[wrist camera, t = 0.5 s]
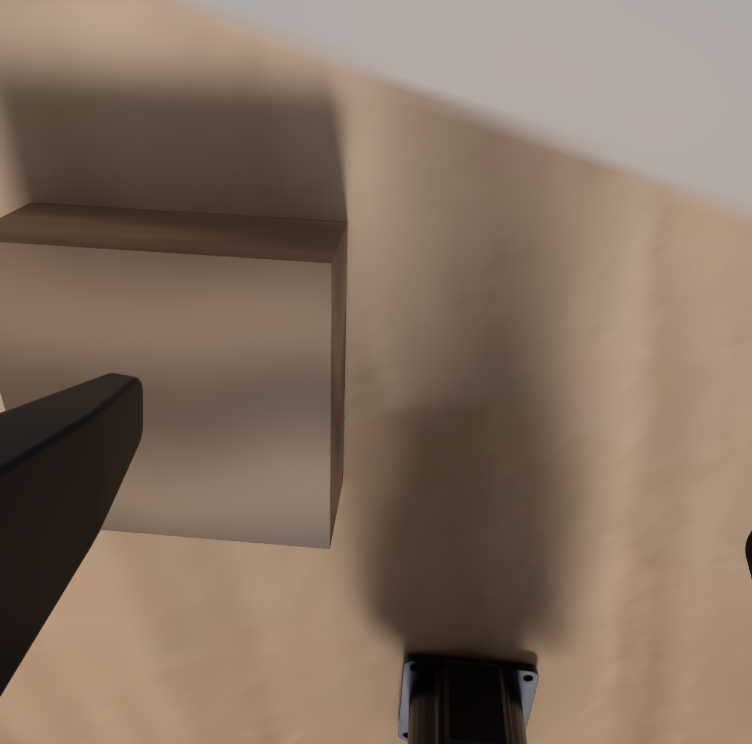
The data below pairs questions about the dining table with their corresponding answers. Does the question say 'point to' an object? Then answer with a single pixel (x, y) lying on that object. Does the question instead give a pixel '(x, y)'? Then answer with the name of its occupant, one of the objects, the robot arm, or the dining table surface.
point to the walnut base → (192, 357)
